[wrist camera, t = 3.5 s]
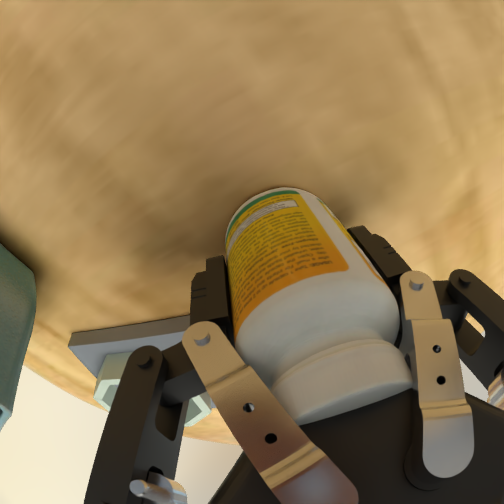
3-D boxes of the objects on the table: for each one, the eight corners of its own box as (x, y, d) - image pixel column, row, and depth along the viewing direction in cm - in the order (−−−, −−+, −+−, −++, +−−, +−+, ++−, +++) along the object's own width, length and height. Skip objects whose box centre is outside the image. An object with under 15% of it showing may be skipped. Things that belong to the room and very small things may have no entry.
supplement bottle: (348, 204, 14) (472, 358, 6) (302, 287, 16) (363, 447, 8) (246, 167, 12) (320, 364, 4) (209, 266, 14) (221, 461, 7)
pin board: (72, 333, 16) (59, 370, 13) (328, 284, 16) (348, 324, 14) (135, 402, 22) (132, 433, 19) (325, 372, 22) (336, 404, 19)
